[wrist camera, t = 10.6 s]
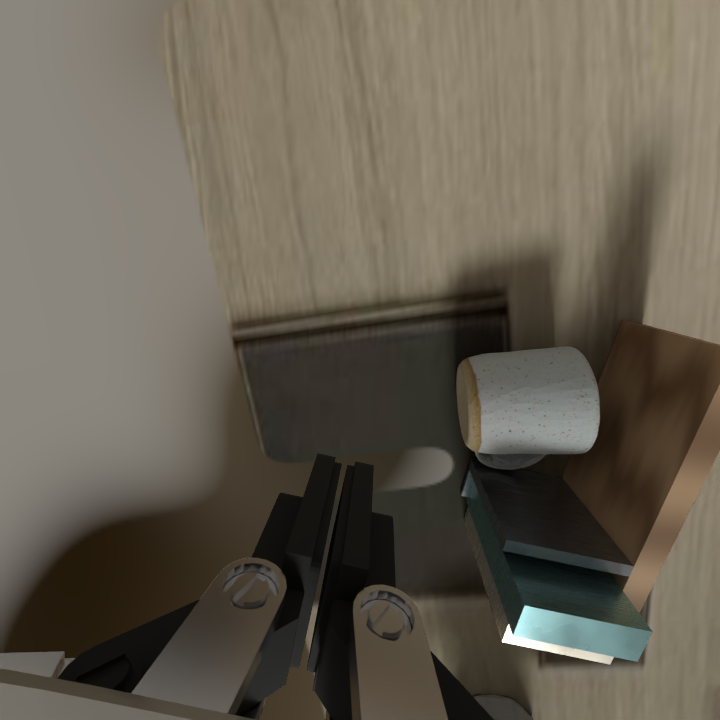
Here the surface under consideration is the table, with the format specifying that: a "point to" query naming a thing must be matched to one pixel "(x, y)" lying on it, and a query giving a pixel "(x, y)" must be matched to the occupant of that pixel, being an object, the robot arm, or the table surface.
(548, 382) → the ceramic mug
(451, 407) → the table surface
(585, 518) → the bookend and books
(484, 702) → the coffeepot
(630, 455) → the wooden board
